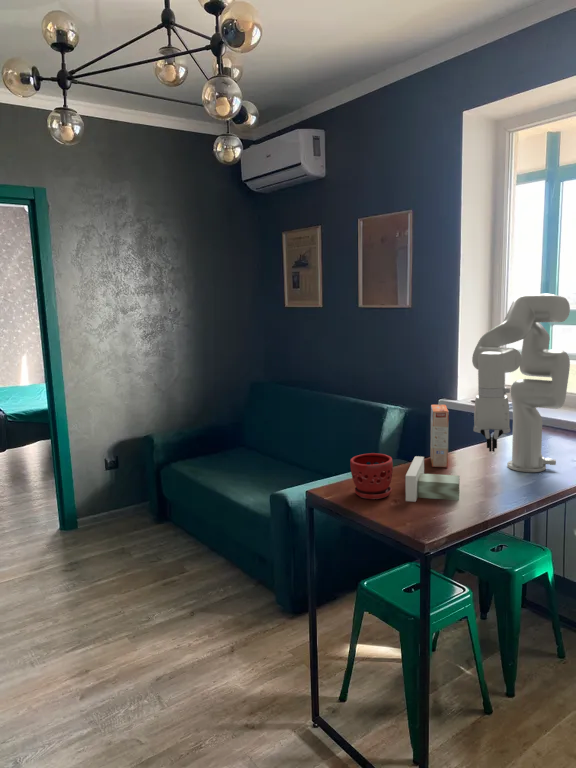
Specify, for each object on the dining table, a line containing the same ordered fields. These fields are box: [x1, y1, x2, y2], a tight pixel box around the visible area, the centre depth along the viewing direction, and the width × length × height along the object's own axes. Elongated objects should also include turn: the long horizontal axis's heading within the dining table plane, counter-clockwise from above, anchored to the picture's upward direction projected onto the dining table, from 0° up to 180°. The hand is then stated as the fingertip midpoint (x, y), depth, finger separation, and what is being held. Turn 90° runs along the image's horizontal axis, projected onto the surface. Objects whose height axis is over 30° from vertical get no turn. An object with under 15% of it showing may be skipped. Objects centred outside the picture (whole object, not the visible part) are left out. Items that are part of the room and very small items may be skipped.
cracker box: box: [429, 404, 450, 468], centre depth 211 cm, size 14×6×21 cm, turn 168°
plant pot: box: [349, 452, 394, 500], centre depth 179 cm, size 13×13×12 cm
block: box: [417, 473, 461, 501], centre depth 178 cm, size 12×8×6 cm, turn 72°
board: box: [405, 455, 425, 503], centre depth 182 cm, size 3×22×8 cm, turn 160°
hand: (491, 450), depth 176 cm, fingers closed
